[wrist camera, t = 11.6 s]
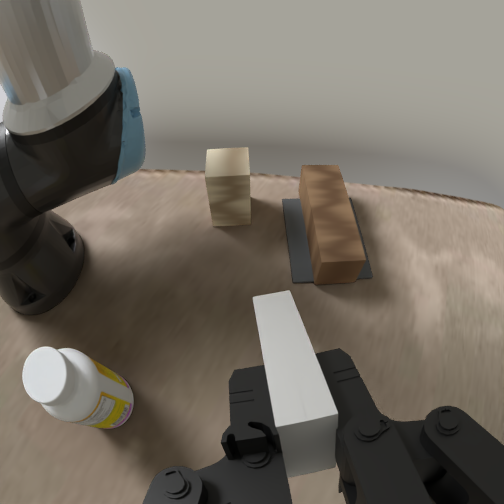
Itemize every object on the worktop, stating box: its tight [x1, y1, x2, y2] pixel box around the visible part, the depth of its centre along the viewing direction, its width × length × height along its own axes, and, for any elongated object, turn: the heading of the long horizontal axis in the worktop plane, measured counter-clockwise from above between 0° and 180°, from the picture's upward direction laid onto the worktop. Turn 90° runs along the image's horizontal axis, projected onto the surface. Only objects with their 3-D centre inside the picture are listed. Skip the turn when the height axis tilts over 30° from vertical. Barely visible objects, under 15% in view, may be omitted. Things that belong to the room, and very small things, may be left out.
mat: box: [282, 198, 373, 283], centre depth 42 cm, size 10×13×1 cm
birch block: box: [205, 147, 251, 226], centre depth 41 cm, size 5×5×9 cm
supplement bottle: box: [23, 347, 134, 429], centre depth 25 cm, size 7×7×13 cm
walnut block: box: [299, 165, 366, 285], centre depth 40 cm, size 5×5×15 cm
